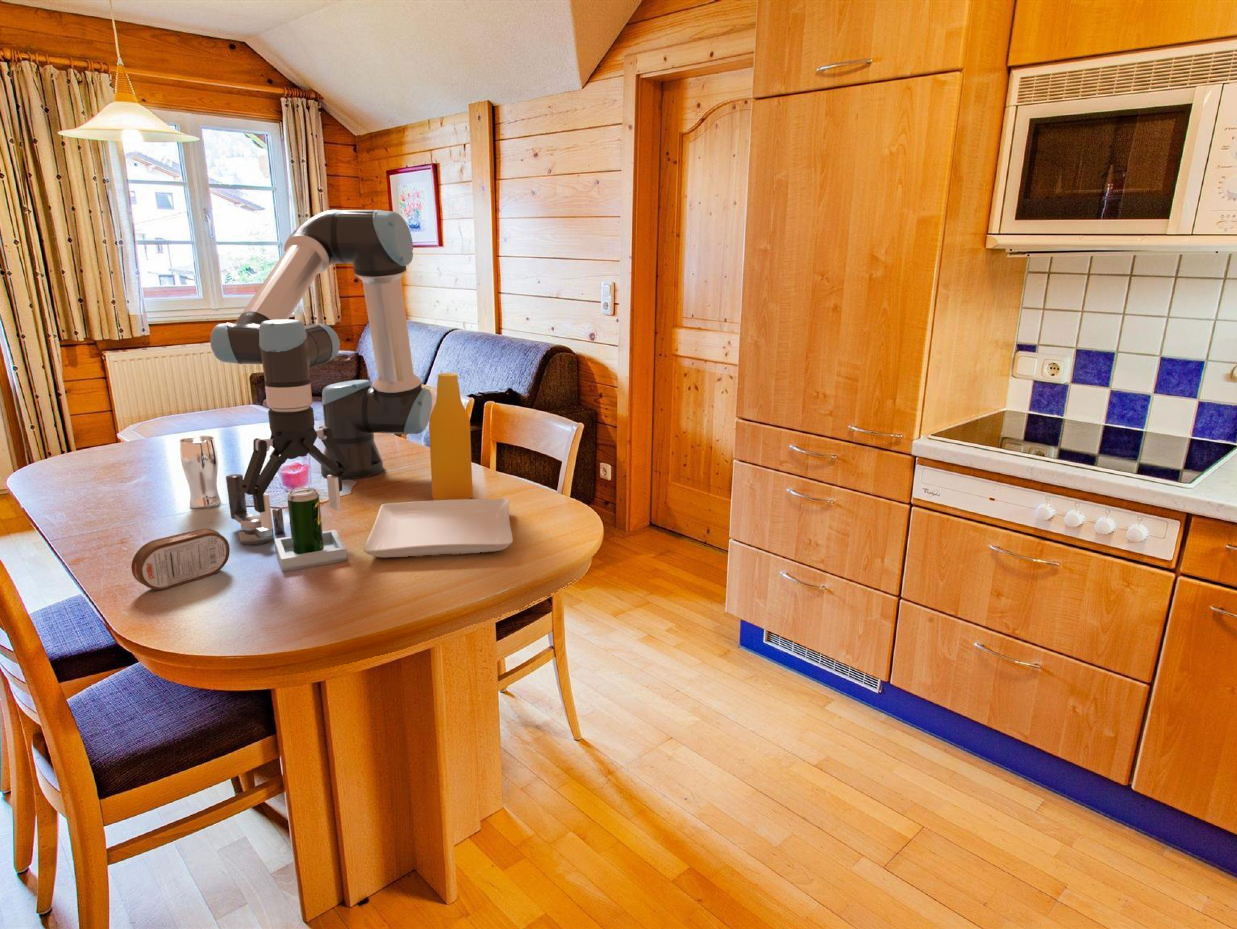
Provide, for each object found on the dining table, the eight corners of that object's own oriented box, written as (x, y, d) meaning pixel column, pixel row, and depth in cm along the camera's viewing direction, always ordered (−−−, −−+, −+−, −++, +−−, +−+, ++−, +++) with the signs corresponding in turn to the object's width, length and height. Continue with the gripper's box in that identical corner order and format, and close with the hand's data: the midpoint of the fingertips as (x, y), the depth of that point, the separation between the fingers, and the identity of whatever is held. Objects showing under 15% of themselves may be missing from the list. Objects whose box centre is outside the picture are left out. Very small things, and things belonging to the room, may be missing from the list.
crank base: (283, 530, 152) (281, 507, 151) (287, 540, 147) (285, 516, 146) (177, 546, 143) (173, 521, 142) (177, 557, 138) (173, 532, 137)
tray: (336, 541, 147) (335, 529, 147) (347, 560, 138) (346, 548, 137) (275, 550, 142) (274, 538, 141) (282, 571, 133) (281, 559, 132)
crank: (280, 533, 144) (275, 490, 142) (253, 539, 141) (248, 496, 139) (249, 512, 155) (244, 472, 153) (223, 517, 152) (218, 477, 149)
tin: (226, 565, 135) (220, 521, 133) (235, 569, 133) (229, 525, 131) (134, 593, 124) (126, 545, 121) (142, 598, 122) (134, 550, 120)
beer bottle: (431, 505, 169) (425, 378, 161) (432, 493, 177) (426, 371, 170) (473, 504, 171) (469, 377, 163) (472, 491, 179) (468, 371, 171)
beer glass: (208, 510, 163) (199, 443, 158) (180, 508, 164) (170, 441, 160) (230, 501, 169) (222, 436, 165) (203, 498, 170) (194, 434, 166)
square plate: (508, 512, 167) (508, 495, 166) (513, 560, 141) (513, 541, 140) (382, 517, 162) (381, 500, 161) (363, 568, 136) (361, 548, 135)
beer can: (295, 560, 136) (288, 498, 133) (291, 550, 141) (284, 489, 137) (326, 555, 139) (320, 493, 136) (321, 545, 143) (315, 485, 140)
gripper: (341, 394, 147) (350, 496, 153) (209, 415, 128) (225, 530, 134) (363, 399, 142) (371, 505, 148) (230, 422, 123) (245, 541, 130)
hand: (302, 517), depth 141 cm, fingers open, 13 cm apart
